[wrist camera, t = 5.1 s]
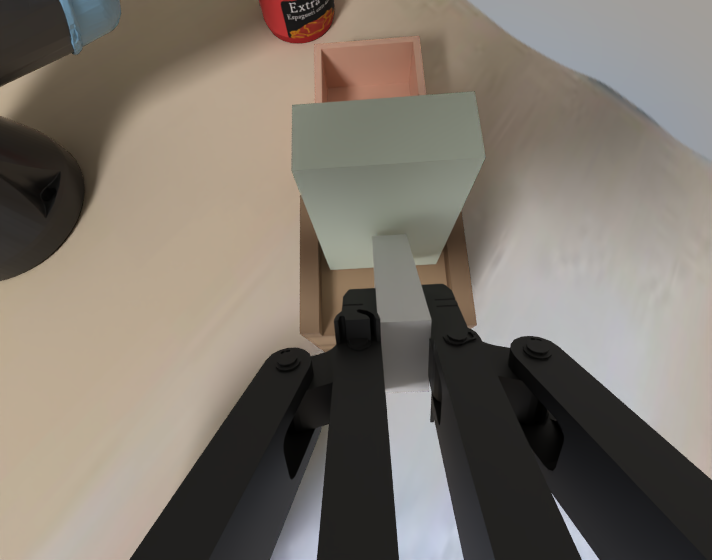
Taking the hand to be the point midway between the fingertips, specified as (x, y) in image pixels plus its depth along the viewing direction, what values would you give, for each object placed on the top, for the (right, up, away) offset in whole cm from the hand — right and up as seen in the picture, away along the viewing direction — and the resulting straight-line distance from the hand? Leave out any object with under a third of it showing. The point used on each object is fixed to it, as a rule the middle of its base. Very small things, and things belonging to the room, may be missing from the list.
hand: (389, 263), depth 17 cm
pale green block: (0, +1, +5) cm, 5 cm away
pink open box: (0, +14, +19) cm, 24 cm away
